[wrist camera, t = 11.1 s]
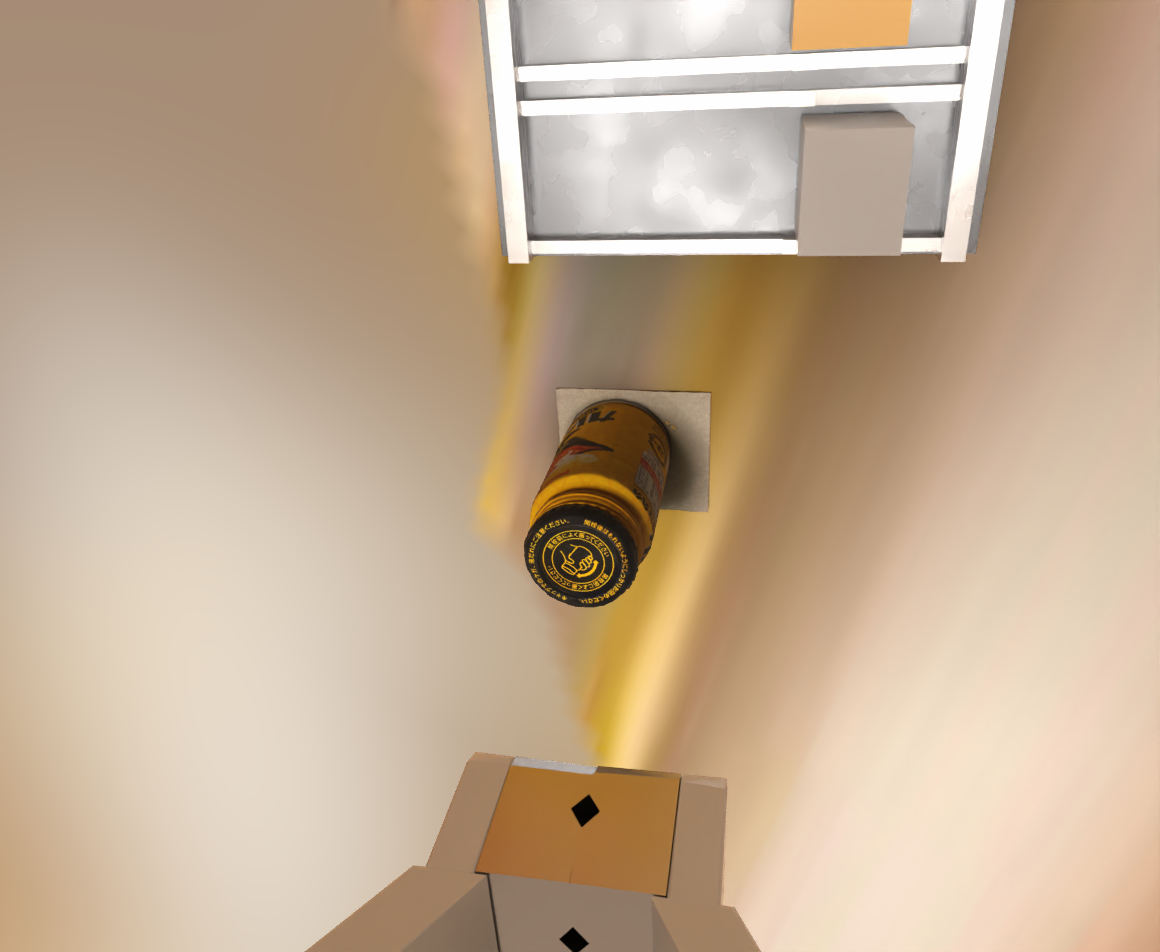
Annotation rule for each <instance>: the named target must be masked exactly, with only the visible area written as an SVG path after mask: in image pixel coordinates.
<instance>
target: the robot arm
mask: <svg viewBox="0 0 1160 952" xmlns="http://www.w3.org/2000/svg"><path fill="white" fill-rule="evenodd" d="M726 810H727V779H725V778H717V777H707V776H696V775H686V774H683V776H682V774H679V773H668V772H657V771H646V770H635V769H624V768H613V767H602V766H598V767H593V766H585V765H577V764H570V763H562V762H554V761H546V760H539V759H531V758H524V757H510V756H502V755H495V754H487V753H479V752H475V754H474V755H473V756H472V757H471V758H470V759H469V761H468V762H467V764H466V766H465V769H464V771H463V774H462V776H461V779H460V781H459V784H458V786H457V789H456V791H455V794H454V796H453V799H452V802H451V804H450V807H449V809H448V812H447V814H446V817H445V819H444V822H443V824H442V827H441V830H440V832H439V834H438V837H437V839H436V842H435V844H434V847H433V849H432V852H431V855H430V857H429V860H428V862H427V865H426V867H423V866H412V867H411V868H410V869H408V870H407V871H406V872H405V873H403V874H402V875H401V876H400V877H398V878H397V879H396V880H395V881H393V882H392V883H391V884H390V885H388V886H387V887H386V888H384V889H383V890H382V891H381V892H379V893H378V894H377V895H376V896H374V897H373V898H372V899H371V900H369V901H368V902H367V903H366V904H364V905H363V906H362V907H361V908H359V909H358V910H357V911H355V912H354V913H353V914H352V915H351V916H349V917H348V918H347V919H345V920H344V921H343V922H342V923H340V924H339V925H338V926H337V927H335V928H334V929H333V930H332V931H330V932H329V933H328V934H327V935H325V936H324V937H323V938H322V939H320V940H319V941H318V942H316V943H315V944H314V945H313V946H312V947H310V948H309V949H308V950H306V951H305V952H761V951H760V949H759V947H758V946H757V944H756V942H755V941H754V939H753V937H752V936H751V934H750V932H749V931H748V929H747V927H746V926H745V924H744V922H743V921H742V919H741V917H740V916H739V914H738V912H737V911H736V909H735V907H729V906H723V897H724V868H725V839H726Z"/></svg>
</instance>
